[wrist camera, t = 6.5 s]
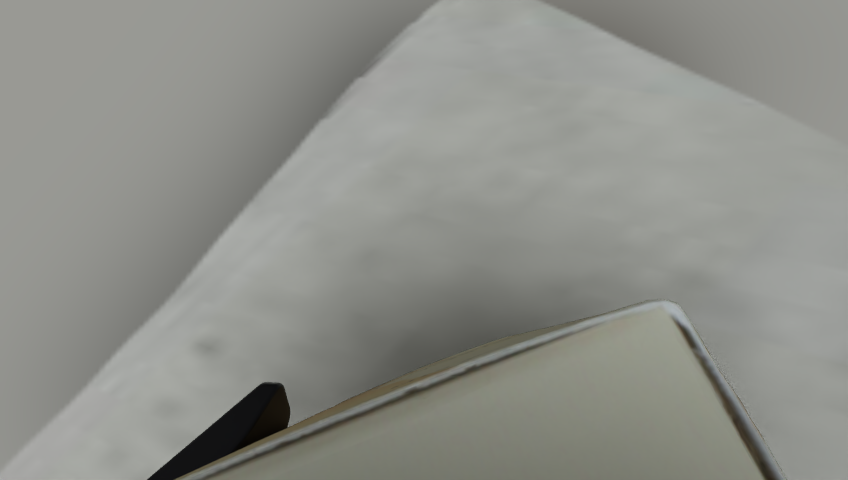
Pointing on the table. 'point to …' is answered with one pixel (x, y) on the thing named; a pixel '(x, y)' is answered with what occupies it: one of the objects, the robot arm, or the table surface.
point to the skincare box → (534, 414)
